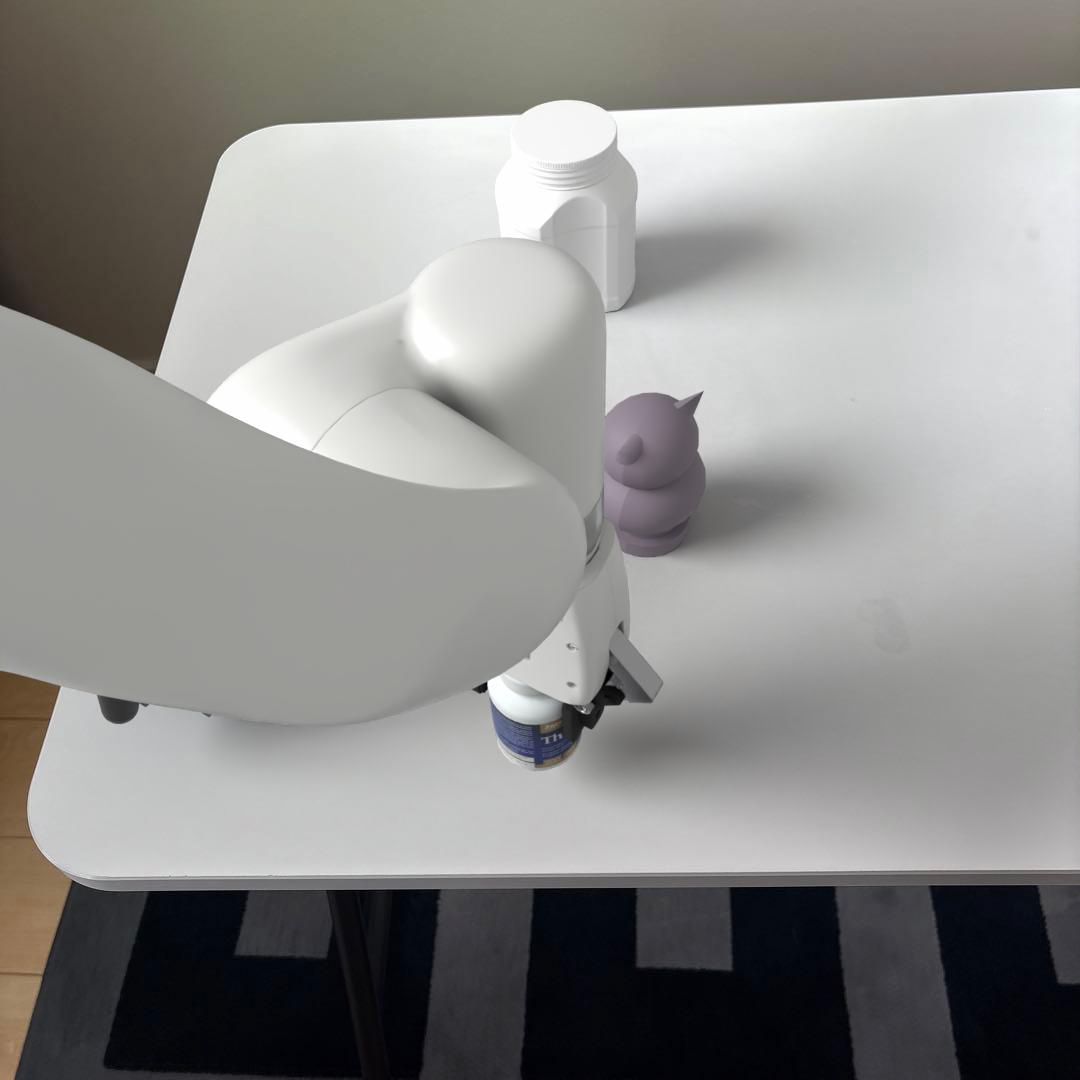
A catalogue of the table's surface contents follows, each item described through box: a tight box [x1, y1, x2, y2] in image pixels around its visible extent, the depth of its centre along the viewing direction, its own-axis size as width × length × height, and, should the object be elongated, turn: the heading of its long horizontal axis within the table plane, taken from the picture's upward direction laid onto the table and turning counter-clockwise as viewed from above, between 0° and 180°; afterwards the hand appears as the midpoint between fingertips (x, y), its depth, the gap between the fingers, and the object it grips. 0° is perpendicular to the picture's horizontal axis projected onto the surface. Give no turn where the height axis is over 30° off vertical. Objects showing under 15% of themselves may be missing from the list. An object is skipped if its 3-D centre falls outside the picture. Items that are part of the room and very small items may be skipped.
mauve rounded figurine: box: [604, 390, 707, 558], centre depth 74 cm, size 8×8×12 cm
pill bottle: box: [487, 673, 583, 772], centre depth 62 cm, size 5×5×10 cm
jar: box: [494, 99, 639, 313], centre depth 88 cm, size 12×10×15 cm
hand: (536, 695), depth 62 cm, fingers closed on pill bottle, 5 cm apart
